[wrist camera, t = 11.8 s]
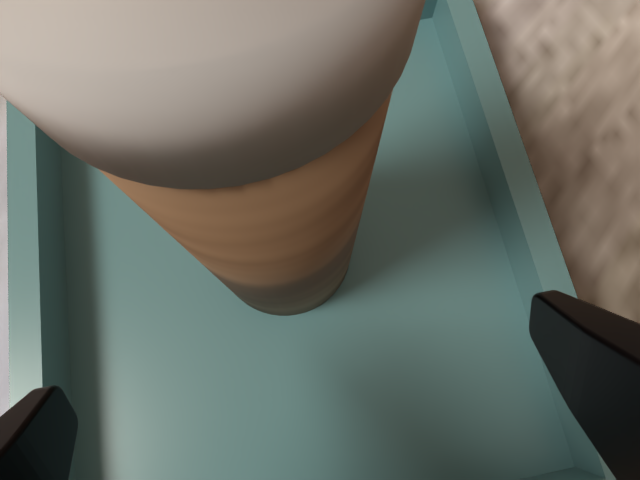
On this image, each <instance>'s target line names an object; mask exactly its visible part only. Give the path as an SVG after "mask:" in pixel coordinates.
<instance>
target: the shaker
mask: <svg viewBox="0 0 640 480" xmlns="http://www.w3.org/2000/svg"><path fill="white" fill-rule="evenodd" d="M424 4H425V0H0V95H2V96H3V97H4V98H5V99H6V100H7V101H8V102H10V103H11V104H12V105H13V106H14V107H15V108H17V109H18V110H19V111H20V112H21V113H22V114H23V115H25V116H26V117H27V118H28V119H29V120H30V121H31V122H33V123H34V124H35V125H36V126H37V127H38V128H40V129H41V130H42V131H43V132H44V133H45V134H46V135H48V136H49V137H50V138H51V139H53V140H54V141H55V142H56V143H58V144H59V145H60V146H61V147H63V148H64V149H65V150H66V151H68V152H69V153H70V154H72V155H74V156H75V157H77V158H79V159H81V160H82V161H84V162H86V163H88V164H89V165H91V166H93V167H95V168H97V169H99V170H100V171H101V172H102V173H103V174H104V175H105V176H106V177H107V178H108V179H110V180H111V181H112V182H113V183H114V184H115V185H116V186H117V187H118V188H119V189H120V190H122V191H123V192H124V193H125V194H126V195H127V196H128V197H129V198H130V199H131V200H133V201H134V202H135V203H136V204H137V205H138V206H139V207H140V208H141V209H142V210H143V211H145V212H146V213H147V214H148V215H149V216H150V217H151V218H152V219H153V220H154V221H155V222H157V223H158V224H159V225H160V226H161V227H162V228H163V229H164V230H165V231H166V232H167V233H169V234H170V235H171V236H172V237H173V238H174V239H175V240H176V241H177V242H178V243H179V244H181V245H182V246H183V247H184V248H185V249H186V250H187V251H188V252H189V253H190V254H192V255H193V256H194V257H195V258H196V259H197V260H198V261H199V262H200V263H201V264H202V265H204V266H205V267H206V268H207V269H208V270H209V271H210V272H211V273H212V274H213V275H214V276H216V277H217V278H218V279H219V280H220V281H221V282H222V283H223V284H224V285H225V286H226V287H228V288H229V289H230V290H231V291H232V292H233V293H234V294H235V295H236V296H237V297H238V298H240V299H241V300H242V301H243V302H244V303H246V304H247V305H249V306H250V307H252V308H254V309H256V310H258V311H261V312H263V313H267V314H271V315H278V316H290V315H298V314H301V313H305V312H308V311H310V310H313V309H315V308H316V307H318V306H320V305H322V304H323V303H324V302H326V301H327V300H328V299H329V298H330V297H331V296H332V295H333V294H334V293H335V292H336V291H337V289H338V288H339V287H340V285H341V283H342V282H343V280H344V278H345V275H346V273H347V270H348V266H349V263H350V259H351V255H352V251H353V247H354V243H355V239H356V235H357V231H358V227H359V223H360V219H361V215H362V211H363V207H364V203H365V199H366V195H367V191H368V187H369V183H370V179H371V175H372V171H373V167H374V163H375V159H376V155H377V151H378V147H379V143H380V139H381V135H382V131H383V127H384V123H385V119H386V115H387V111H388V107H389V103H390V99H391V95H392V91H393V88H394V87H395V85H396V83H397V82H398V80H399V79H400V77H401V75H402V73H403V70H404V68H405V66H406V63H407V61H408V59H409V56H410V54H411V51H412V47H413V43H414V40H415V36H416V33H417V29H418V25H419V22H420V18H421V15H422V11H423V8H424Z"/></svg>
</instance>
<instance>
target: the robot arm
mask: <svg viewBox="0 0 640 480" xmlns="http://www.w3.org/2000/svg"><path fill="white" fill-rule="evenodd" d="M529 333H530V336H531V339H532V341H533V343H534V345H535V347H536V348H537V350H538V352H539V354H540V356H541V358H542V360H543V362H544V364H545V365H546V367H547V369H548V371H549V373H550V375H551V377H552V379H553V381H554V382H555V384H556V386H557V388H558V390H559V392H560V394H561V396H562V397H563V399H564V401H565V403H566V404H567V406H568V408H569V410H570V411H571V413H572V414H573V416H574V417H575V419H576V420H577V422H578V423H579V425H580V426H581V428H582V429H583V431H584V432H585V434H586V435H587V437H588V438H589V440H590V441H591V443H592V444H593V446H594V447H595V449H596V450H597V452H598V453H599V455H600V456H601V458H602V459H603V461H604V462H605V464H606V465H607V466H608V468H609V469H610V471H611V472H612V474H613V475H614V477H615V478H616V480H640V324H639V323H637V322H634V321H632V320H629V319H627V318H624V317H622V316H619V315H617V314H614V313H612V312H609V311H607V310H605V309H602V308H600V307H597V306H595V305H592V304H590V303H587V302H585V301H582V300H580V299H577V298H575V297H572V296H570V295H568V294H565V293H563V292H560V291H557V290H550V291H544V292H539V293H536V294H534V295H533V297H532V300H531V309H530V319H529ZM77 432H78V417H77V414H76V412H75V410H74V409H73V407H72V405H71V403H70V402H69V400H68V398H67V396H66V395H65V393H64V391H63V390H62V388H61V387H59V386H58V385H51V386H46V387H40V388H36V389H34V390H32V391H30V392H29V393H28V394H27V395H26V396H24V397H23V398H22V399H21V400H20V401H19V402H17V403H16V404H15V405H14V406H13V407H11V408H10V409H9V410H8V411H7V412H5V413H4V414H3V415H2V416H1V417H0V480H69V476H70V470H71V465H72V459H73V454H74V448H75V443H76V437H77Z"/></svg>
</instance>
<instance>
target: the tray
mask: <svg viewBox="0 0 640 480" xmlns="http://www.w3.org/2000/svg"><path fill="white" fill-rule="evenodd" d="M7 196H8V302H9V408H11V407H13V406H14V405H15V404H16V403H17V402H19V401H20V400H21V399H22V398H23V397H24V396H26V395H27V394H28V393H29V392H30V391H32V390H34V389H36V388H40V387H46V386H51V385H58V386H59V387H61V388H62V390H63V391H64V393H65V395H66V396H67V398H68V400H69V402H70V403H71V405H72V407H73V409H74V410H75V412H76V414H77V417H78V432H77V437H76V443H75V448H74V454H73V459H72V465H71V470H70V476H69V480H616V478H615V477H614V475H613V474H612V472H611V471H610V469H609V468H608V466H607V465H606V464H605V462H604V461H603V459H602V458H601V456H600V455H599V453H598V452H597V450H596V449H595V447H594V446H593V444H592V443H591V441H590V440H589V438H588V437H587V435H586V434H585V432H584V431H583V429H582V428H581V426H580V425H579V423H578V422H577V420H576V419H575V417H574V416H573V414H572V413H571V411H570V410H569V408H568V406H567V404H566V403H565V401H564V399H563V397H562V396H561V394H560V392H559V390H558V388H557V386H556V384H555V382H554V381H553V379H552V377H551V375H550V373H549V371H548V369H547V367H546V365H545V364H544V362H543V360H542V358H541V356H540V354H539V352H538V350H537V348H536V347H535V345H534V343H533V341H532V339H531V336H530V333H529V319H530V309H531V300H532V297H533V295H534V294H536V293H539V292H544V291H550V290H557V291H560V292H563V293H565V294H568V295H570V296H572V297H575V298H577V295H576V292H575V289H574V286H573V283H572V281H571V278H570V275H569V272H568V269H567V266H566V264H565V261H564V258H563V255H562V252H561V249H560V247H559V244H558V241H557V238H556V235H555V232H554V229H553V227H552V224H551V221H550V218H549V215H548V212H547V210H546V207H545V204H544V201H543V198H542V195H541V193H540V190H539V187H538V184H537V181H536V178H535V176H534V173H533V170H532V167H531V164H530V161H529V158H528V156H527V153H526V150H525V147H524V144H523V141H522V139H521V136H520V133H519V130H518V127H517V124H516V122H515V119H514V116H513V113H512V110H511V107H510V105H509V102H508V99H507V96H506V93H505V90H504V87H503V85H502V82H501V79H500V76H499V73H498V70H497V68H496V65H495V62H494V59H493V56H492V53H491V51H490V48H489V45H488V42H487V39H486V36H485V34H484V31H483V28H482V25H481V22H480V19H479V16H478V14H477V11H476V8H475V5H474V2H473V0H425V4H424V8H423V11H422V15H421V18H420V22H419V25H418V29H417V33H416V36H415V40H414V43H413V47H412V51H411V54H410V56H409V59H408V61H407V63H406V66H405V68H404V70H403V73H402V75H401V77H400V79H399V80H398V82H397V83H396V85H395V87H394V88H393V91H392V95H391V99H390V103H389V107H388V111H387V115H386V119H385V123H384V127H383V131H382V135H381V139H380V143H379V147H378V151H377V155H376V159H375V163H374V167H373V171H372V175H371V179H370V183H369V187H368V191H367V195H366V199H365V203H364V207H363V211H362V215H361V219H360V223H359V227H358V231H357V235H356V239H355V243H354V247H353V251H352V255H351V259H350V263H349V266H348V270H347V273H346V275H345V278H344V280H343V282H342V283H341V285H340V287H339V288H338V289H337V291H336V292H335V293H334V294H333V295H332V296H331V297H330V298H329V299H328V300H327V301H326V302H324V303H323V304H322V305H320V306H318V307H316V308H315V309H313V310H310V311H308V312H305V313H301V314H298V315H290V316H278V315H271V314H267V313H263V312H261V311H258V310H256V309H254V308H252V307H250V306H249V305H247V304H246V303H244V302H243V301H242V300H241V299H240V298H238V297H237V296H236V295H235V294H234V293H233V292H232V291H231V290H230V289H229V288H228V287H226V286H225V285H224V284H223V283H222V282H221V281H220V280H219V279H218V278H217V277H216V276H214V275H213V274H212V273H211V272H210V271H209V270H208V269H207V268H206V267H205V266H204V265H202V264H201V263H200V262H199V261H198V260H197V259H196V258H195V257H194V256H193V255H192V254H190V253H189V252H188V251H187V250H186V249H185V248H184V247H183V246H182V245H181V244H179V243H178V242H177V241H176V240H175V239H174V238H173V237H172V236H171V235H170V234H169V233H167V232H166V231H165V230H164V229H163V228H162V227H161V226H160V225H159V224H158V223H157V222H155V221H154V220H153V219H152V218H151V217H150V216H149V215H148V214H147V213H146V212H145V211H143V210H142V209H141V208H140V207H139V206H138V205H137V204H136V203H135V202H134V201H133V200H131V199H130V198H129V197H128V196H127V195H126V194H125V193H124V192H123V191H122V190H120V189H119V188H118V187H117V186H116V185H115V184H114V183H113V182H112V181H111V180H110V179H108V178H107V177H106V176H105V175H104V174H103V173H102V172H101V171H100V170H99V169H97V168H95V167H93V166H91V165H89V164H88V163H86V162H84V161H82V160H81V159H79V158H77V157H75V156H74V155H72V154H70V153H69V152H68V151H66V150H65V149H64V148H63V147H61V146H60V145H59V144H58V143H56V142H55V141H54V140H53V139H51V138H50V137H49V136H48V135H46V134H45V133H44V132H43V131H42V130H41V129H40V128H38V127H37V126H36V125H35V124H34V123H33V122H31V121H30V120H29V119H28V118H27V117H26V116H25V115H23V114H22V113H21V112H20V111H19V110H18V109H17V108H15V107H14V106H13V105H12V104H11V103H10V102H8V101H7ZM577 299H578V298H577Z"/></svg>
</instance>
